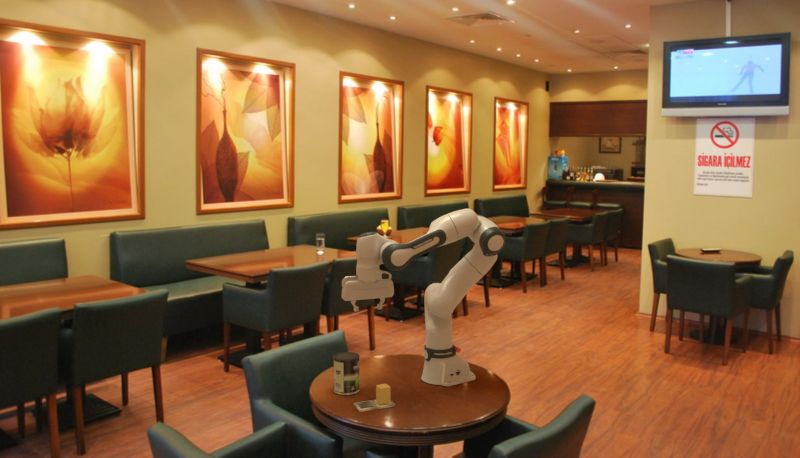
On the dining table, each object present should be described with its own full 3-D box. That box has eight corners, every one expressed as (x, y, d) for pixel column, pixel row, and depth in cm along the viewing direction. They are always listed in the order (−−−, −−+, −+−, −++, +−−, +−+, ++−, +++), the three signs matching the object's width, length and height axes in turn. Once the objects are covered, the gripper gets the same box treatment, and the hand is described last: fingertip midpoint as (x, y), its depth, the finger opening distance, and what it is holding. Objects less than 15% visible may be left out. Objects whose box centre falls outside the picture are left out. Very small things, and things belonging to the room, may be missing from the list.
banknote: (388, 399, 247) (388, 396, 247) (395, 406, 241) (395, 403, 241) (353, 405, 242) (353, 402, 242) (359, 412, 236) (359, 409, 236)
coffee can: (362, 386, 261) (362, 352, 259) (355, 396, 251) (355, 360, 249) (337, 384, 263) (337, 350, 261) (330, 394, 253) (329, 359, 251)
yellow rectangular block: (385, 398, 246) (385, 383, 245) (390, 402, 242) (390, 386, 241) (376, 400, 244) (376, 385, 243) (380, 404, 240) (380, 388, 239)
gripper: (344, 278, 241) (344, 314, 243) (395, 274, 249) (395, 309, 250) (339, 275, 247) (339, 310, 249) (389, 271, 254) (389, 306, 256)
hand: (368, 310), depth 250 cm, fingers open, 8 cm apart
